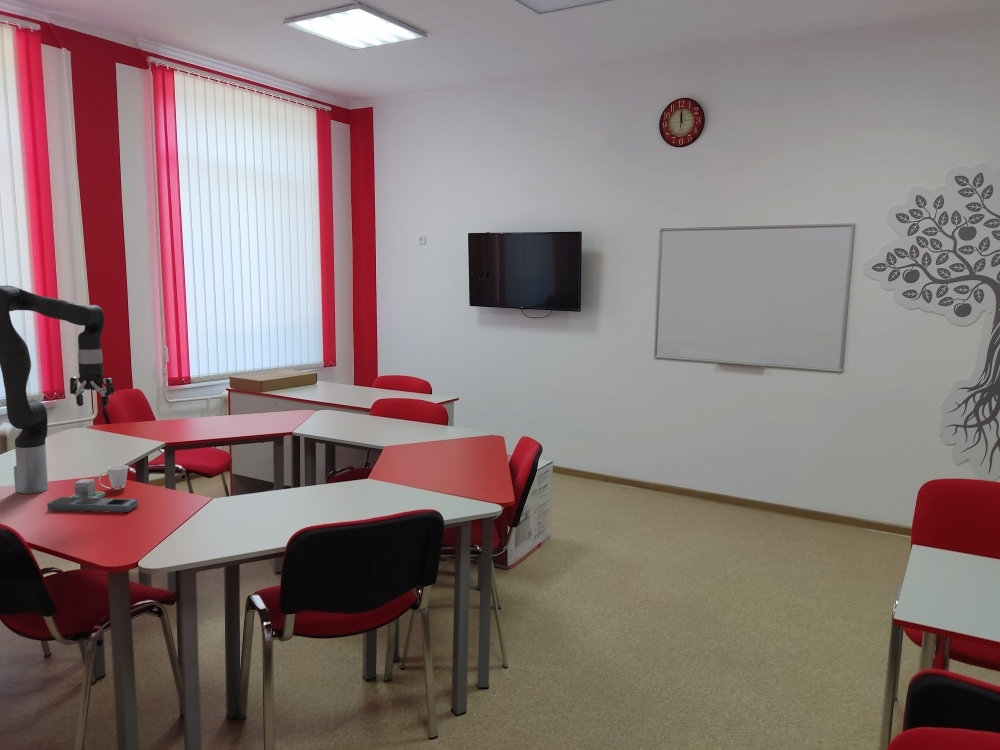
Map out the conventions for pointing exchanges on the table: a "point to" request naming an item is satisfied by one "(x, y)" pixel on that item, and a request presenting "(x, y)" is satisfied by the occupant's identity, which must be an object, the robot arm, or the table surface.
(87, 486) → the light grey block
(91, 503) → the dark grey organizer
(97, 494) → the tray
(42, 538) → the table surface
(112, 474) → the cup
